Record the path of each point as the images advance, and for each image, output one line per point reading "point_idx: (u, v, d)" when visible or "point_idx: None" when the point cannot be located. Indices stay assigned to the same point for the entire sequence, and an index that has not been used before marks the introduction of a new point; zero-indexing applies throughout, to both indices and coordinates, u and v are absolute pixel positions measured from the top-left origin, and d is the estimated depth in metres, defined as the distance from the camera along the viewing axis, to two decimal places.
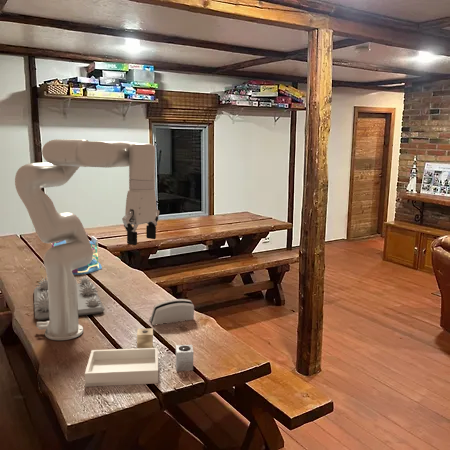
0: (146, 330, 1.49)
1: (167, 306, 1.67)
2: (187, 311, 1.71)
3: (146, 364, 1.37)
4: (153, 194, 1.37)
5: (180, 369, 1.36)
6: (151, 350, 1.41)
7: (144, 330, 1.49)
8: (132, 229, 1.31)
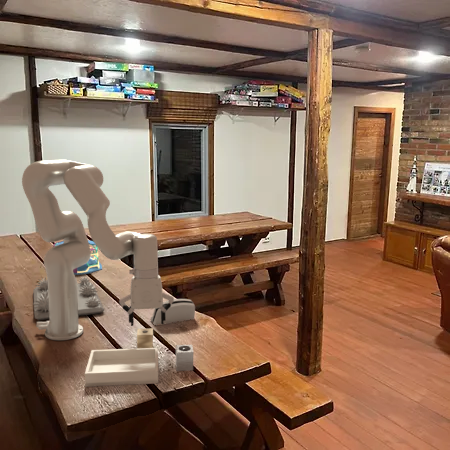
0: (146, 330, 1.49)
1: None
2: (188, 311, 1.72)
3: (146, 364, 1.37)
4: None
5: (180, 369, 1.36)
6: (151, 350, 1.41)
7: (144, 330, 1.49)
8: None
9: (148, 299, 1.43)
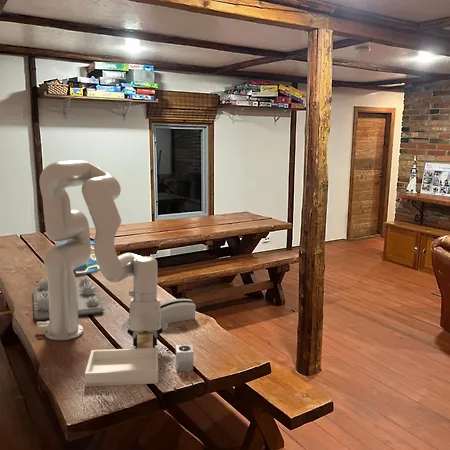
0: None
1: (170, 306, 1.67)
2: (189, 310, 1.72)
3: (146, 364, 1.37)
4: None
5: (180, 369, 1.36)
6: (151, 350, 1.41)
7: None
8: None
9: (146, 321, 1.45)
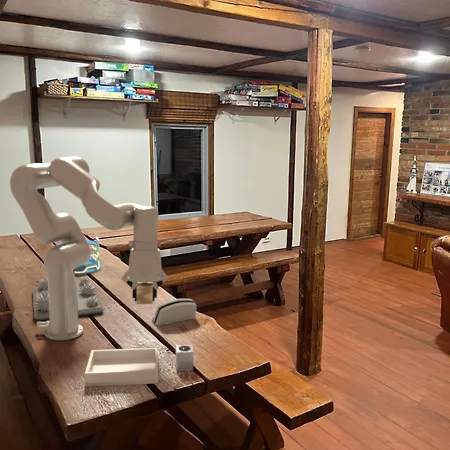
0: (146, 282, 1.46)
1: (171, 306, 1.67)
2: (190, 310, 1.72)
3: (146, 364, 1.37)
4: None
5: (180, 369, 1.36)
6: (151, 350, 1.41)
7: (144, 282, 1.46)
8: None
9: (146, 272, 1.42)
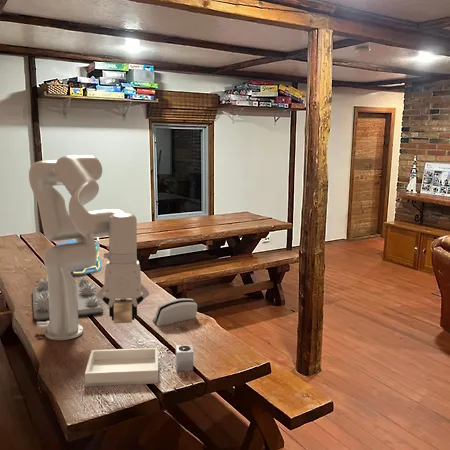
0: (124, 298, 1.31)
1: (172, 306, 1.67)
2: (190, 310, 1.73)
3: (146, 364, 1.37)
4: None
5: (180, 369, 1.36)
6: (151, 350, 1.41)
7: (122, 298, 1.30)
8: None
9: (124, 287, 1.26)
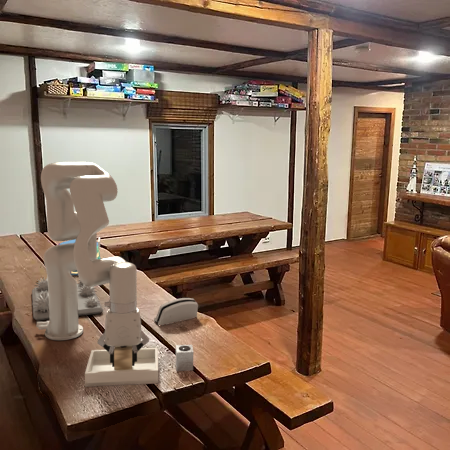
0: None
1: (174, 306, 1.67)
2: (191, 309, 1.73)
3: (146, 364, 1.37)
4: None
5: (180, 369, 1.36)
6: (151, 350, 1.41)
7: None
8: None
9: (124, 335, 1.29)
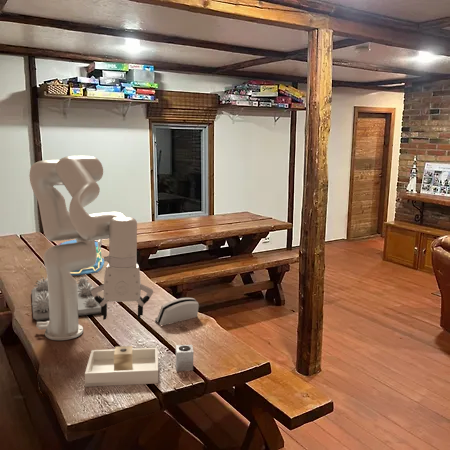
0: (125, 348, 1.33)
1: (175, 305, 1.67)
2: (192, 309, 1.74)
3: (146, 364, 1.37)
4: None
5: (180, 369, 1.36)
6: (151, 350, 1.41)
7: (122, 348, 1.33)
8: None
9: (124, 291, 1.27)
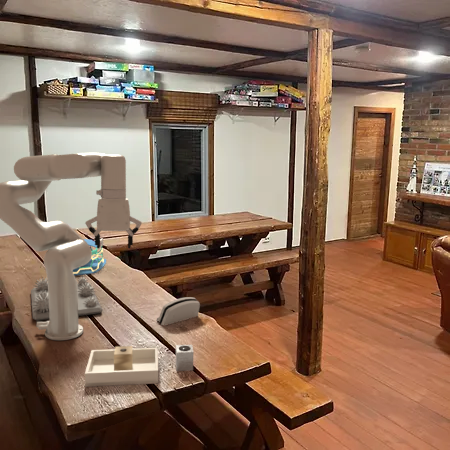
0: (125, 348, 1.33)
1: (177, 305, 1.68)
2: (193, 308, 1.74)
3: (146, 364, 1.37)
4: None
5: (180, 369, 1.36)
6: (151, 350, 1.41)
7: (122, 348, 1.33)
8: None
9: (115, 220, 1.41)
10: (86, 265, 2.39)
